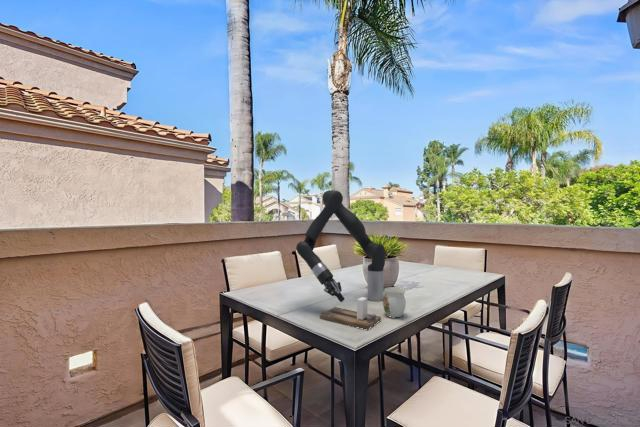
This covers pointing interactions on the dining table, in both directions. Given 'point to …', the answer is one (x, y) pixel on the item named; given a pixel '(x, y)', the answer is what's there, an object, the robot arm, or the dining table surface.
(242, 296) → the dining table surface
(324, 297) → the dining table surface
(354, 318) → the board
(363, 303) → the slider tab
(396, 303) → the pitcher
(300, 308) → the dining table surface
